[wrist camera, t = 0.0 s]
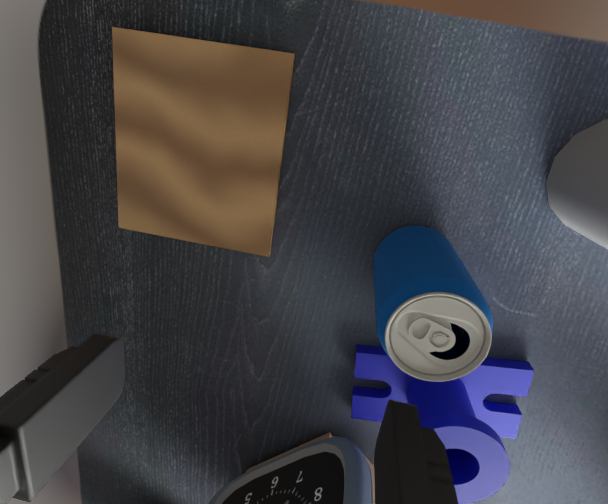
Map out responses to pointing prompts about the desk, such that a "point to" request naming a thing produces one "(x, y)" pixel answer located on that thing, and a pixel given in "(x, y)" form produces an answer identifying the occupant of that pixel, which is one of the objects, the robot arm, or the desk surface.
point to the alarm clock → (306, 477)
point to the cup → (582, 183)
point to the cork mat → (199, 138)
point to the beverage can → (429, 306)
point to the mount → (453, 414)
